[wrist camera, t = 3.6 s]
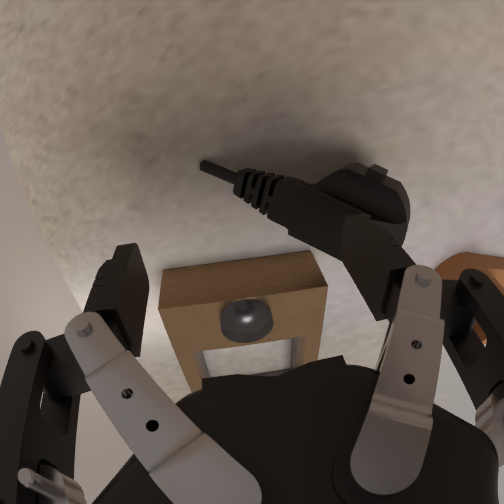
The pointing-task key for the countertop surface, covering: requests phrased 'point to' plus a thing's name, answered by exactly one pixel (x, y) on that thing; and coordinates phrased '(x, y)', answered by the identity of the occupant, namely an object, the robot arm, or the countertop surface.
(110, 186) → the countertop surface
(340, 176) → the power plug
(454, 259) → the brown rounded piece
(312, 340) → the brown rectangular frame
